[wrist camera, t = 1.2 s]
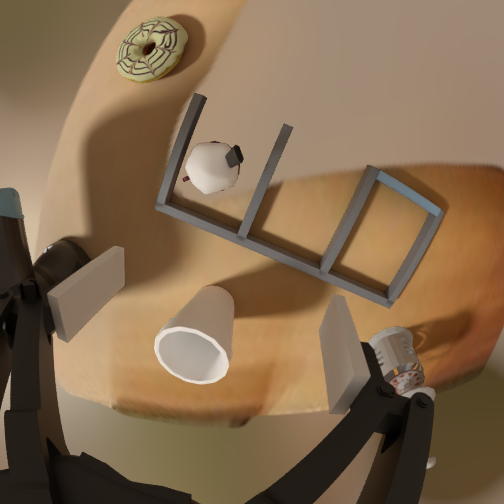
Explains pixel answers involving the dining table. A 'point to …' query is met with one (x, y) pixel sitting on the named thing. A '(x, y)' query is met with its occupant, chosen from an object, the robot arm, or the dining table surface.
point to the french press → (400, 364)
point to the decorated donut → (162, 57)
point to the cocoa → (213, 166)
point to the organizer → (281, 254)
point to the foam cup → (199, 337)
